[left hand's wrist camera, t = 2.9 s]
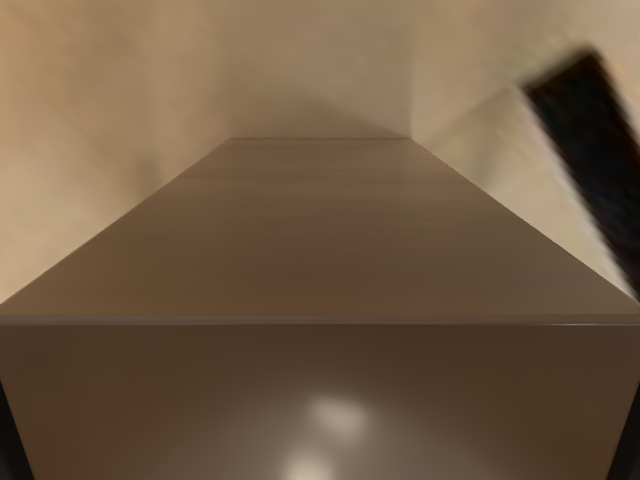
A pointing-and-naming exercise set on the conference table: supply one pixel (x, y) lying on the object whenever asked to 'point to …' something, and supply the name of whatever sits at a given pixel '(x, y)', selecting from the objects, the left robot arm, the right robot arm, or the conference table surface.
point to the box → (320, 331)
